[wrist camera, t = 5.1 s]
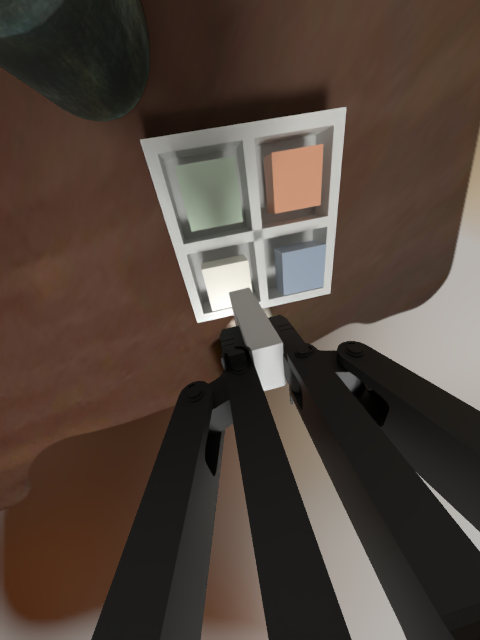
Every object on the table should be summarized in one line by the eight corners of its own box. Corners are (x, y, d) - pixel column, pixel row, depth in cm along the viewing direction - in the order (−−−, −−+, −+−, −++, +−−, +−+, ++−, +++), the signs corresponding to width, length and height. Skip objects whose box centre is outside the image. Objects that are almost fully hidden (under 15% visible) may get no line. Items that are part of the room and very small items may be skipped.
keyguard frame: (197, 310, 27) (197, 322, 24) (149, 149, 18) (139, 139, 16) (316, 284, 28) (330, 293, 26) (324, 120, 20) (346, 106, 17)
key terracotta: (265, 212, 22) (274, 213, 19) (261, 159, 20) (271, 152, 17) (306, 204, 22) (320, 205, 20) (307, 151, 20) (323, 143, 17)
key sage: (192, 227, 20) (191, 231, 18) (178, 171, 18) (174, 165, 15) (237, 219, 20) (243, 221, 18) (229, 162, 18) (234, 155, 15)
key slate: (274, 285, 25) (283, 295, 22) (272, 247, 22) (281, 253, 20) (310, 277, 25) (323, 286, 23) (311, 239, 23) (326, 244, 20)
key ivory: (210, 299, 24) (212, 311, 22) (201, 261, 22) (201, 269, 19) (248, 291, 25) (253, 302, 22) (242, 253, 22) (248, 260, 20)
